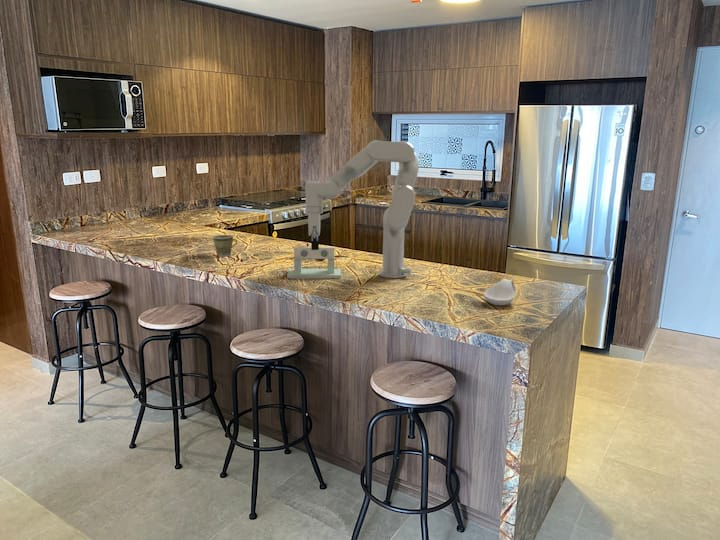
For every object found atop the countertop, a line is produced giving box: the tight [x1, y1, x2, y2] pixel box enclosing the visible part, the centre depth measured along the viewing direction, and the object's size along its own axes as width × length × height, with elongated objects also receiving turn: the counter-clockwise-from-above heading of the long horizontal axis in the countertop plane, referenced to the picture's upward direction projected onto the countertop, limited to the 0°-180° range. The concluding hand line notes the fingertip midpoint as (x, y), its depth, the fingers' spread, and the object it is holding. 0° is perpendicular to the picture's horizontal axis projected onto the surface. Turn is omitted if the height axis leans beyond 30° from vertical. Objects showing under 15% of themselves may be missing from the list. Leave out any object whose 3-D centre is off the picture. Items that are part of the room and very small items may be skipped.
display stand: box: [286, 256, 342, 279], centre depth 248 cm, size 24×12×9 cm, turn 93°
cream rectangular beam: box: [293, 245, 335, 260], centre depth 247 cm, size 18×4×5 cm, turn 93°
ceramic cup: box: [212, 234, 238, 258], centre depth 283 cm, size 13×10×10 cm
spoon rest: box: [483, 278, 516, 307], centre depth 217 cm, size 24×12×7 cm, turn 153°
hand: (315, 247), depth 246 cm, fingers open, 9 cm apart
